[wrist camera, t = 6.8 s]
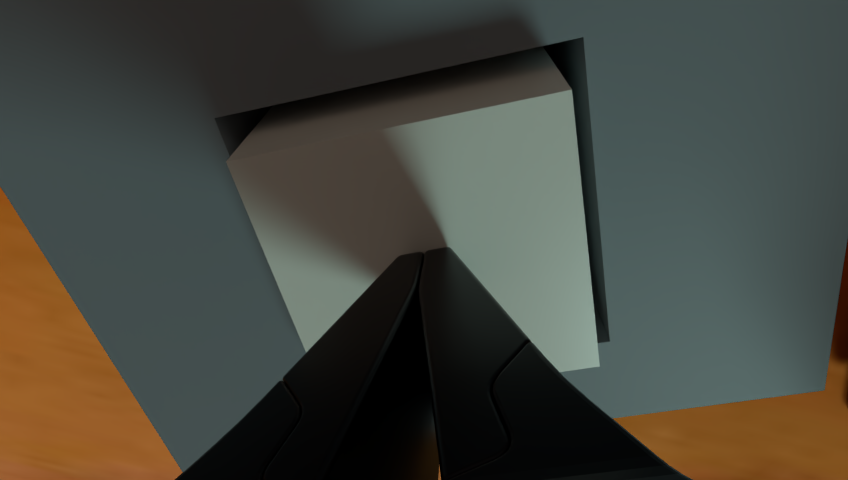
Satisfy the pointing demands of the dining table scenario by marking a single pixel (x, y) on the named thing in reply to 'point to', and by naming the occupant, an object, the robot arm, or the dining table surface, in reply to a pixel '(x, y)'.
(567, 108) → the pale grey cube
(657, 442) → the dining table surface
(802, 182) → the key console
